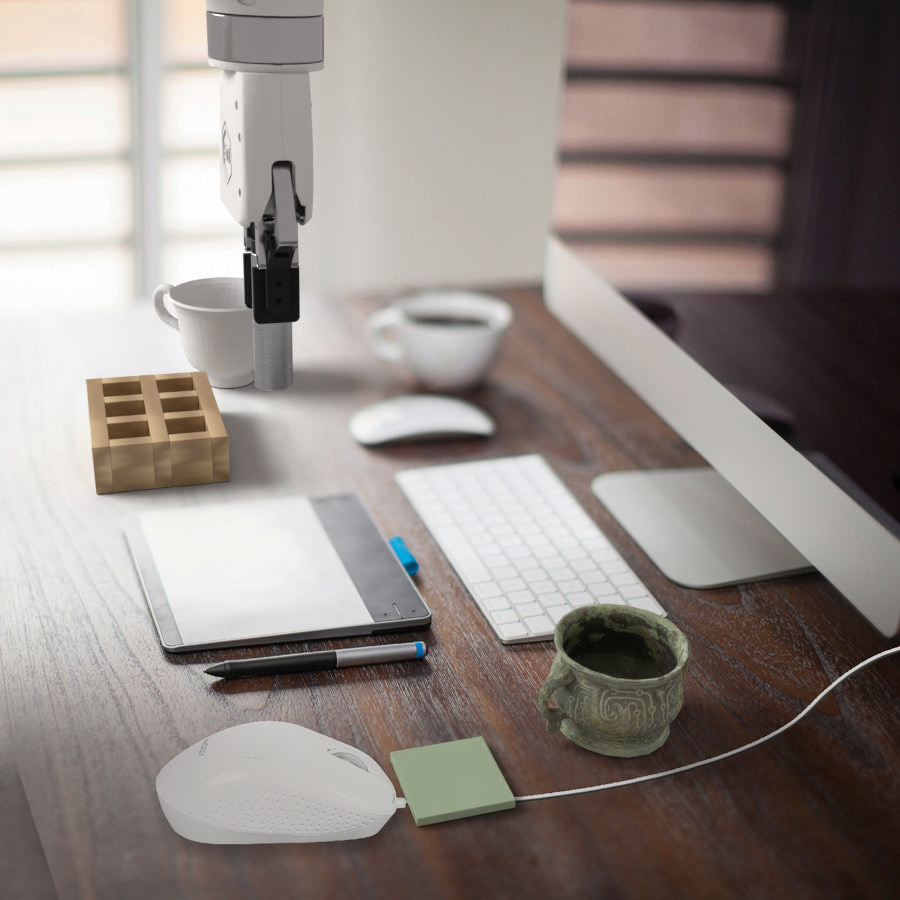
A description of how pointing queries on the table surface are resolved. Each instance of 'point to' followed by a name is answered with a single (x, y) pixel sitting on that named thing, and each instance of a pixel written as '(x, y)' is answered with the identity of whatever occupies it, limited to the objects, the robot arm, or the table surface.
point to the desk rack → (156, 432)
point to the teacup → (212, 327)
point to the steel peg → (271, 348)
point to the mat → (451, 781)
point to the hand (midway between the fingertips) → (271, 311)
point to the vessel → (615, 679)
